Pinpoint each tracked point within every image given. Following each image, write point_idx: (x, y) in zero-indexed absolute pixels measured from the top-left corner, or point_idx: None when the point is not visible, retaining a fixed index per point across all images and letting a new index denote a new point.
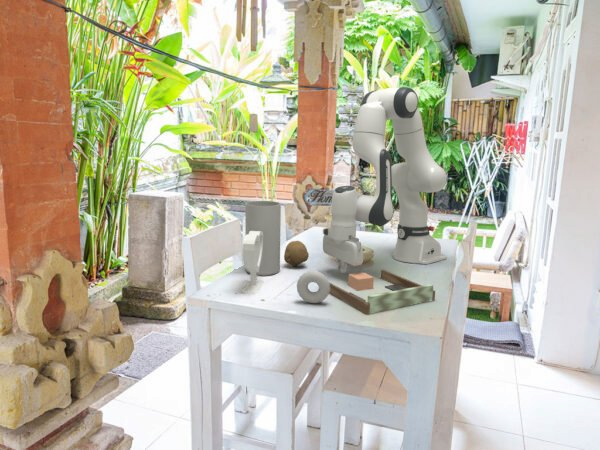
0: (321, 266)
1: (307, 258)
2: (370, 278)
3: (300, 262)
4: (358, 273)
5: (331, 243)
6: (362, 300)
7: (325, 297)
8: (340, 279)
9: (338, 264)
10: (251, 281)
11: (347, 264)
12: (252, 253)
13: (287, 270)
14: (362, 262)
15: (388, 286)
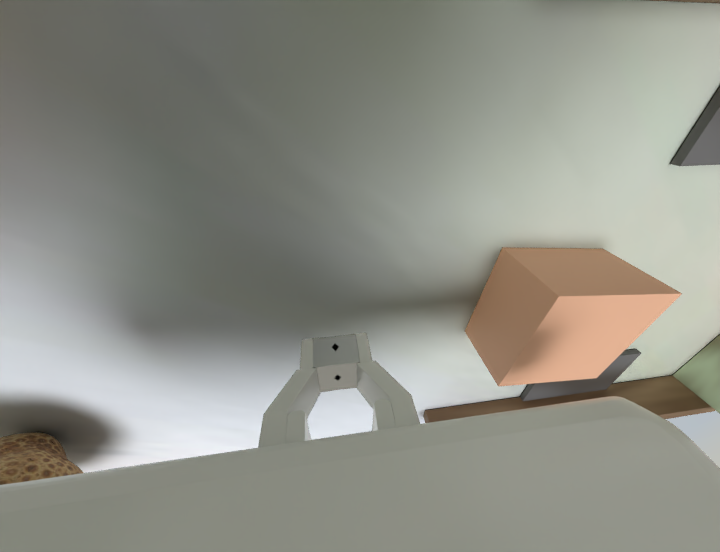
0: (10, 330)
1: (26, 477)
2: (655, 312)
3: (81, 471)
4: (537, 339)
5: None
6: (688, 411)
7: None
8: (366, 329)
9: (311, 402)
10: None
11: (401, 388)
12: None
13: (140, 459)
14: (668, 424)
15: (711, 144)
